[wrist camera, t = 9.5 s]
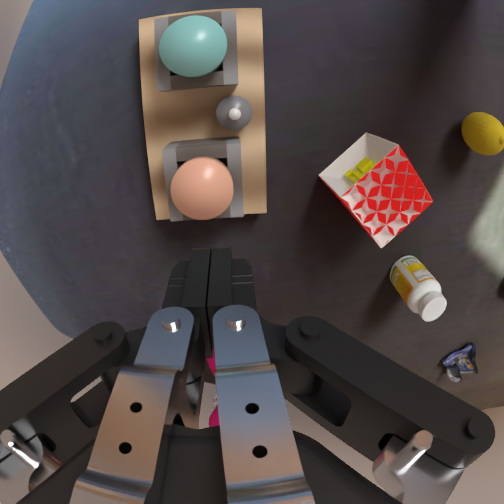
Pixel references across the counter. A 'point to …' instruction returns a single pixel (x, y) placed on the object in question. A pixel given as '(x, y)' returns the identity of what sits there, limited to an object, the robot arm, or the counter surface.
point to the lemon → (483, 133)
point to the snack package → (460, 362)
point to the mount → (205, 111)
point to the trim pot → (234, 112)
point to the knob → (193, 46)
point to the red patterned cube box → (377, 187)
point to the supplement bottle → (418, 288)
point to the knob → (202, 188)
